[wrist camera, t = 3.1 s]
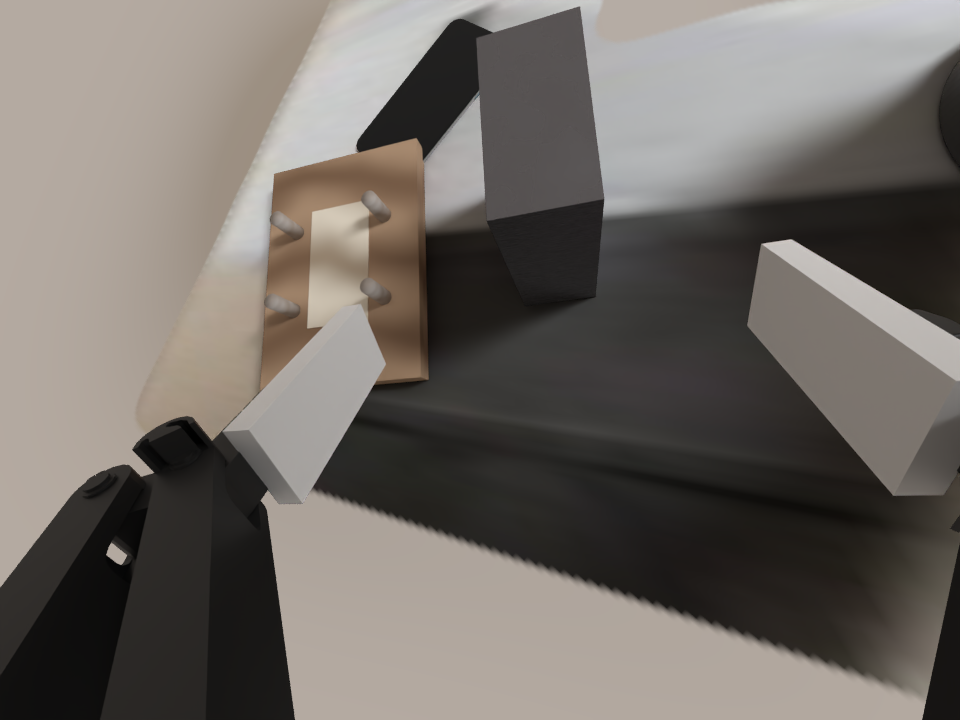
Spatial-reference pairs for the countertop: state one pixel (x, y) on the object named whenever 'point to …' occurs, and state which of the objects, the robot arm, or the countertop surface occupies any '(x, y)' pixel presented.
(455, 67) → the smartphone
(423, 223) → the dock
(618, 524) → the countertop surface
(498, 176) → the block
